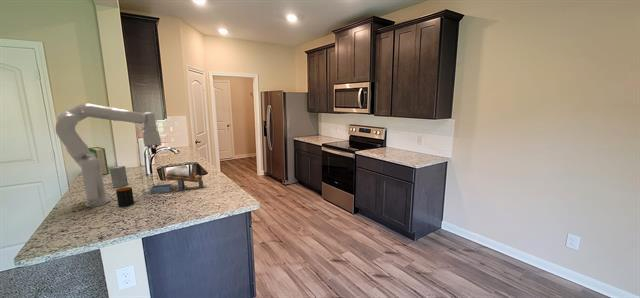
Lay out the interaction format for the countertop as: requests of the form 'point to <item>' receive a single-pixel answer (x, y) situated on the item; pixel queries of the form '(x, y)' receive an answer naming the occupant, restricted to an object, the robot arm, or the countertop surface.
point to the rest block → (201, 184)
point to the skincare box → (118, 176)
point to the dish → (160, 188)
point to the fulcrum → (181, 186)
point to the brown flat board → (182, 177)
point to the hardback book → (100, 158)
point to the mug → (125, 197)
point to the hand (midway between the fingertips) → (154, 153)
